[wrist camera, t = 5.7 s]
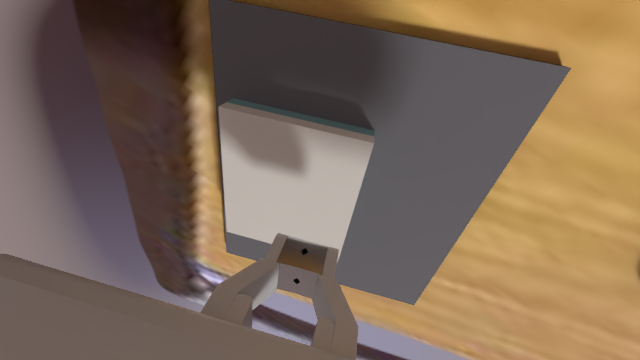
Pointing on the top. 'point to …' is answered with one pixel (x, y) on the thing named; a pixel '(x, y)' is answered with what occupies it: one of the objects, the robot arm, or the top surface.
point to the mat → (387, 127)
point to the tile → (290, 173)
